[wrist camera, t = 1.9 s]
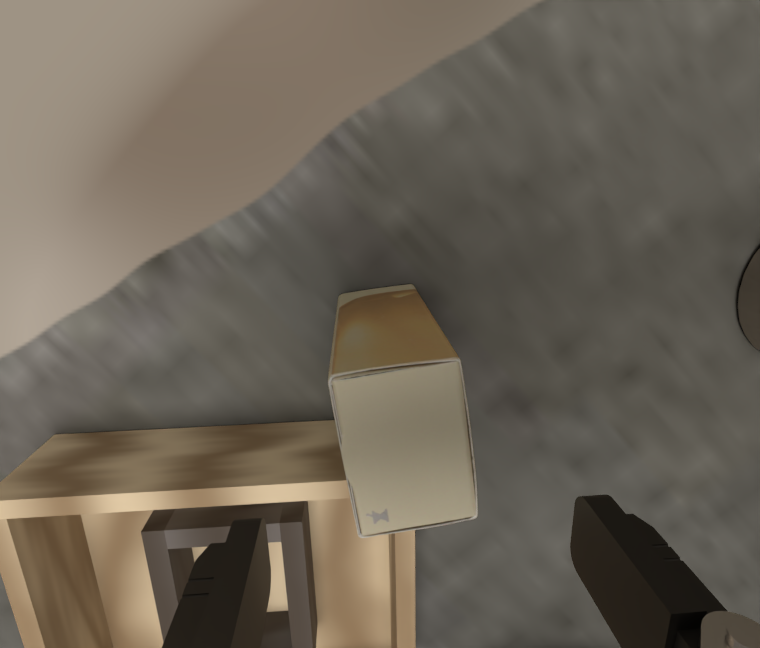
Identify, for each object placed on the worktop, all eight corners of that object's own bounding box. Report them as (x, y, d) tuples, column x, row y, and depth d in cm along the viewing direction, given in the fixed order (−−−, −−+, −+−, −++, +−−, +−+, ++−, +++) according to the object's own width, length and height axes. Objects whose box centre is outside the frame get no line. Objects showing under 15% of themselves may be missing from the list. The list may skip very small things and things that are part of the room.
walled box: (401, 416, 29) (414, 476, 23) (404, 645, 34) (415, 740, 28) (54, 434, 28) (-23, 502, 22) (113, 668, 33) (64, 771, 27)
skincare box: (427, 383, 28) (483, 529, 17) (353, 394, 28) (358, 549, 16) (413, 276, 26) (466, 355, 15) (334, 288, 26) (324, 378, 15)
